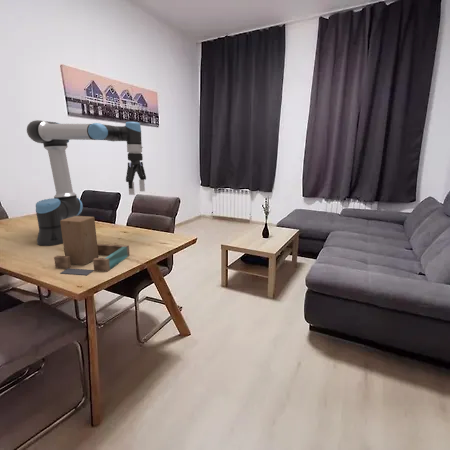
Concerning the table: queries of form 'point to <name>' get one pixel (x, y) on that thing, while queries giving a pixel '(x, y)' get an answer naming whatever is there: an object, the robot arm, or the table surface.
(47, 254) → the table surface
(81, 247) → the wooden block
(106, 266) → the brown u-shaped piece
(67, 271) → the mat
